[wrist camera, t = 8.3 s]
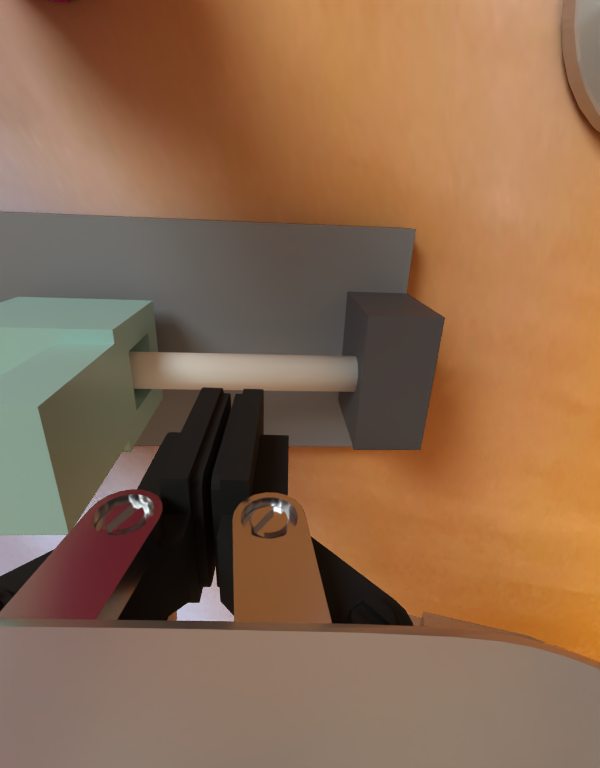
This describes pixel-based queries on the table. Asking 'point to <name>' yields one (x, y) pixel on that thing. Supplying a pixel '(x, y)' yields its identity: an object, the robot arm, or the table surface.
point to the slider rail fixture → (252, 316)
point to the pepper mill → (60, 0)
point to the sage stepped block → (67, 404)
